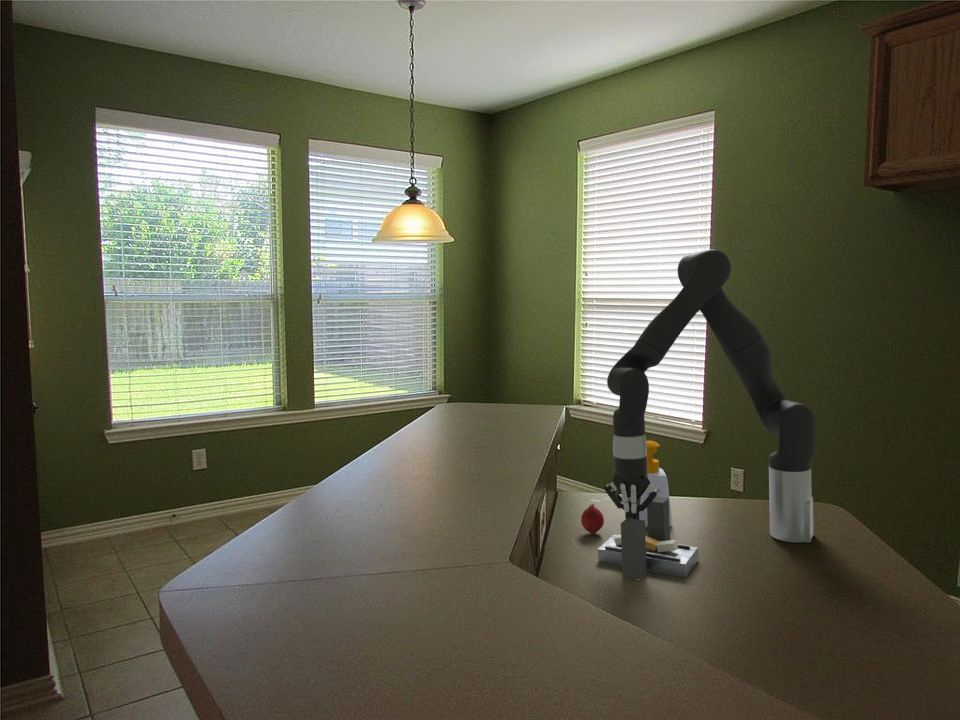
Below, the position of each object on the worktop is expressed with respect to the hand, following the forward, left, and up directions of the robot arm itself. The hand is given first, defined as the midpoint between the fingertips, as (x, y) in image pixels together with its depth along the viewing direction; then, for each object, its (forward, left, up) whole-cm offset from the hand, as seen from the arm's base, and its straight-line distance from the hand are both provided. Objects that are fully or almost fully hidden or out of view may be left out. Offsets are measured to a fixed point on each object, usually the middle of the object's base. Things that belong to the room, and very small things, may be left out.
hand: (632, 526), depth 148 cm
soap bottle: (+6, -24, -8) cm, 26 cm away
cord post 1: (-3, +8, -8) cm, 12 cm away
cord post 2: (-3, -9, -8) cm, 12 cm away
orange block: (-3, 0, -5) cm, 6 cm away
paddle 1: (+2, 0, -5) cm, 5 cm away
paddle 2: (-8, 0, -5) cm, 9 cm away
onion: (+15, -11, -8) cm, 20 cm away
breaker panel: (-3, 0, -8) cm, 8 cm away
